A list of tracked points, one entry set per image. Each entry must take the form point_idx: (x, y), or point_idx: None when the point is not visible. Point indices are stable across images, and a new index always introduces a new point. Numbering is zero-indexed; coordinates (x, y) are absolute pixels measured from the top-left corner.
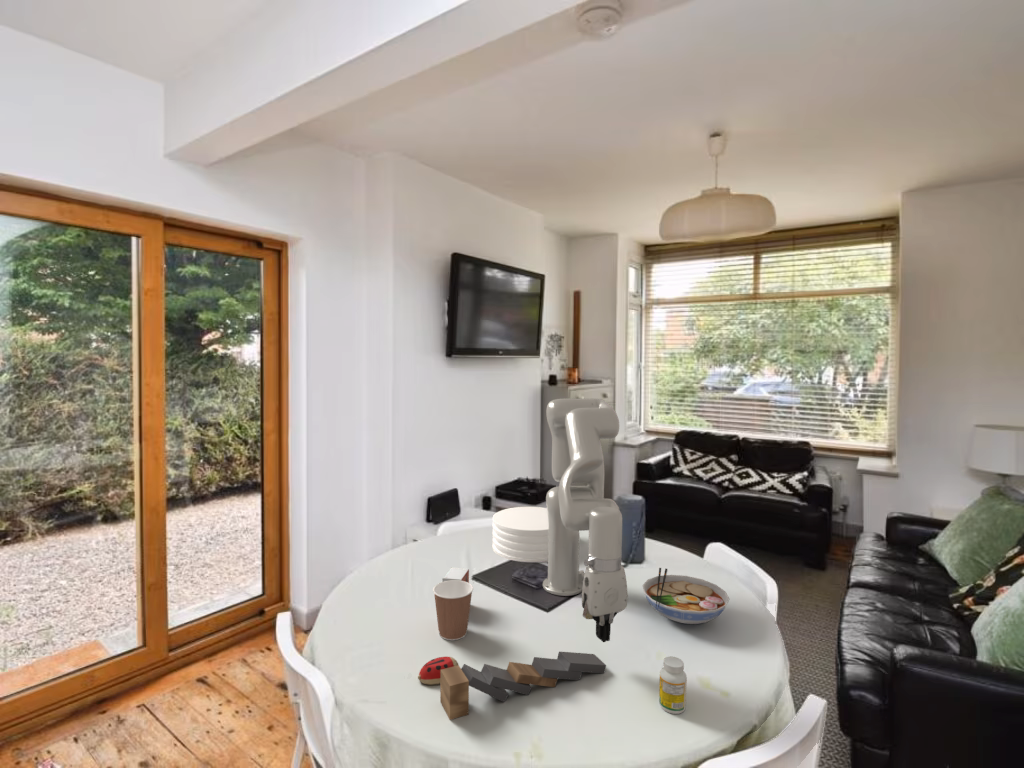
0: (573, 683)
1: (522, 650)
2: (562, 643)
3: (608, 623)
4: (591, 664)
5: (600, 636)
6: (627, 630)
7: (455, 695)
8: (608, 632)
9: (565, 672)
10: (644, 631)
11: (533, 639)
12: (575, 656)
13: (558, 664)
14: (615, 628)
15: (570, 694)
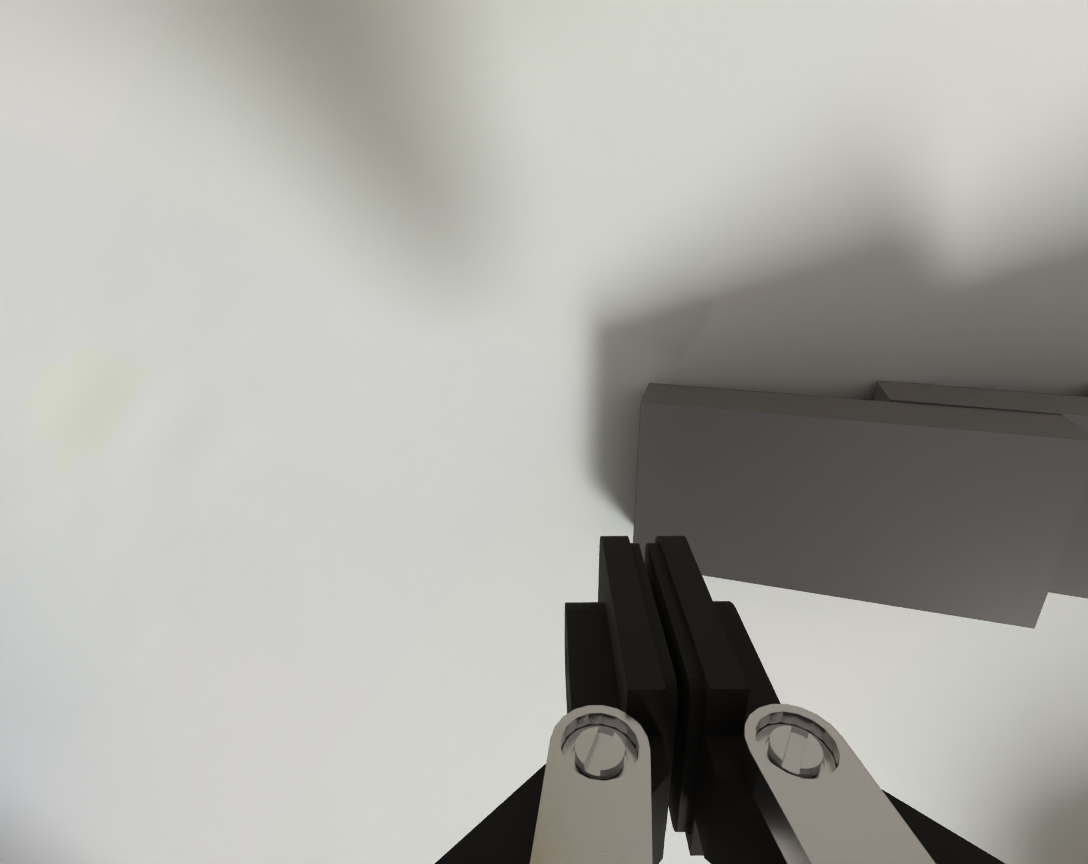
0: (944, 366)
1: (958, 775)
2: None
3: (629, 724)
4: (811, 417)
5: (717, 604)
6: (187, 727)
7: None
8: (640, 600)
9: (1085, 412)
10: (68, 682)
11: None
12: (895, 543)
13: (1079, 514)
14: (258, 768)
15: (1069, 255)
